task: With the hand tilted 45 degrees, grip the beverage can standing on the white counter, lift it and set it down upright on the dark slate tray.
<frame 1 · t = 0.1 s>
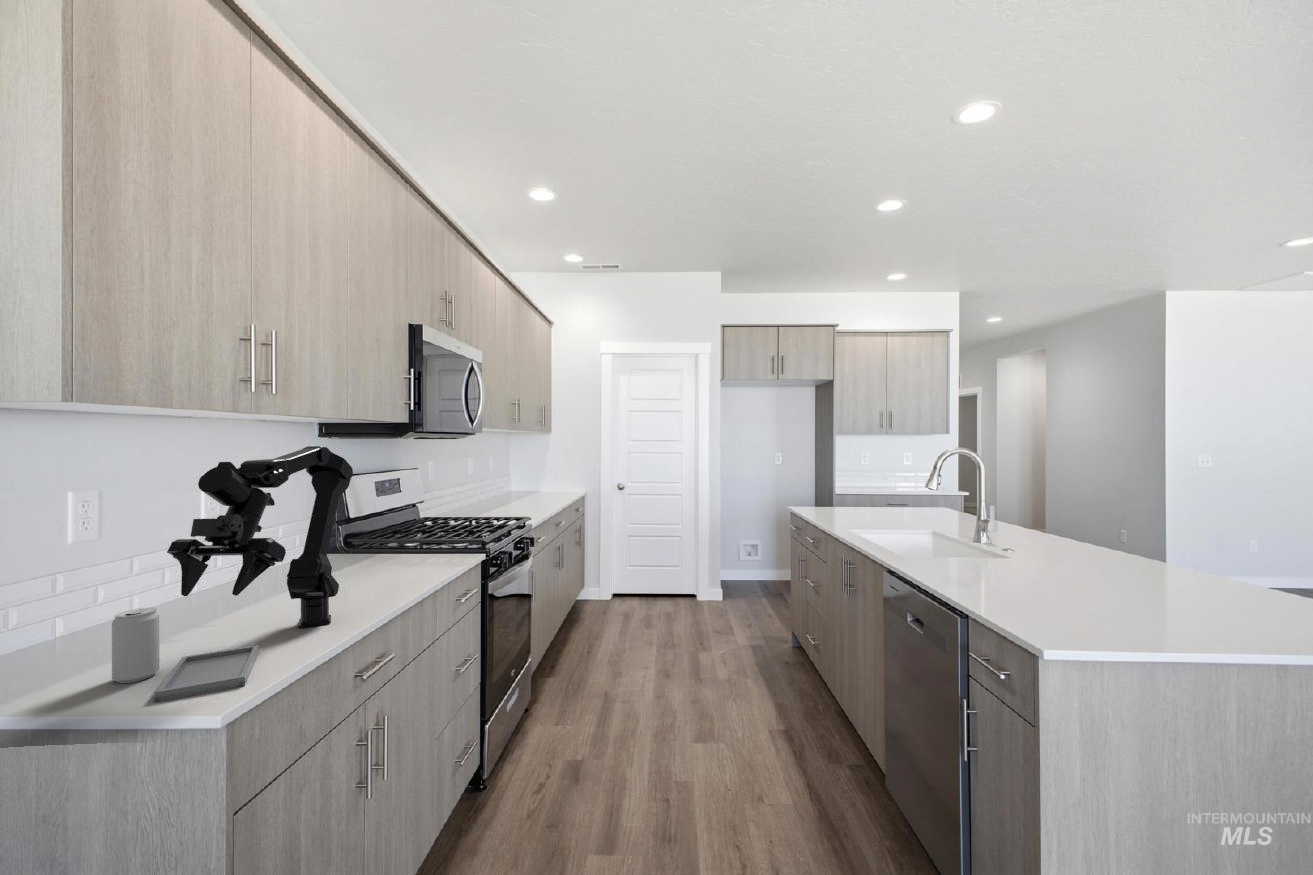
hand: (209, 595, 102), 15 cm above the countertop, tool tilted 35°, fingers open, 9 cm apart
tray: (212, 675, 103), on the countertop
beverage can: (136, 678, 102), on the countertop
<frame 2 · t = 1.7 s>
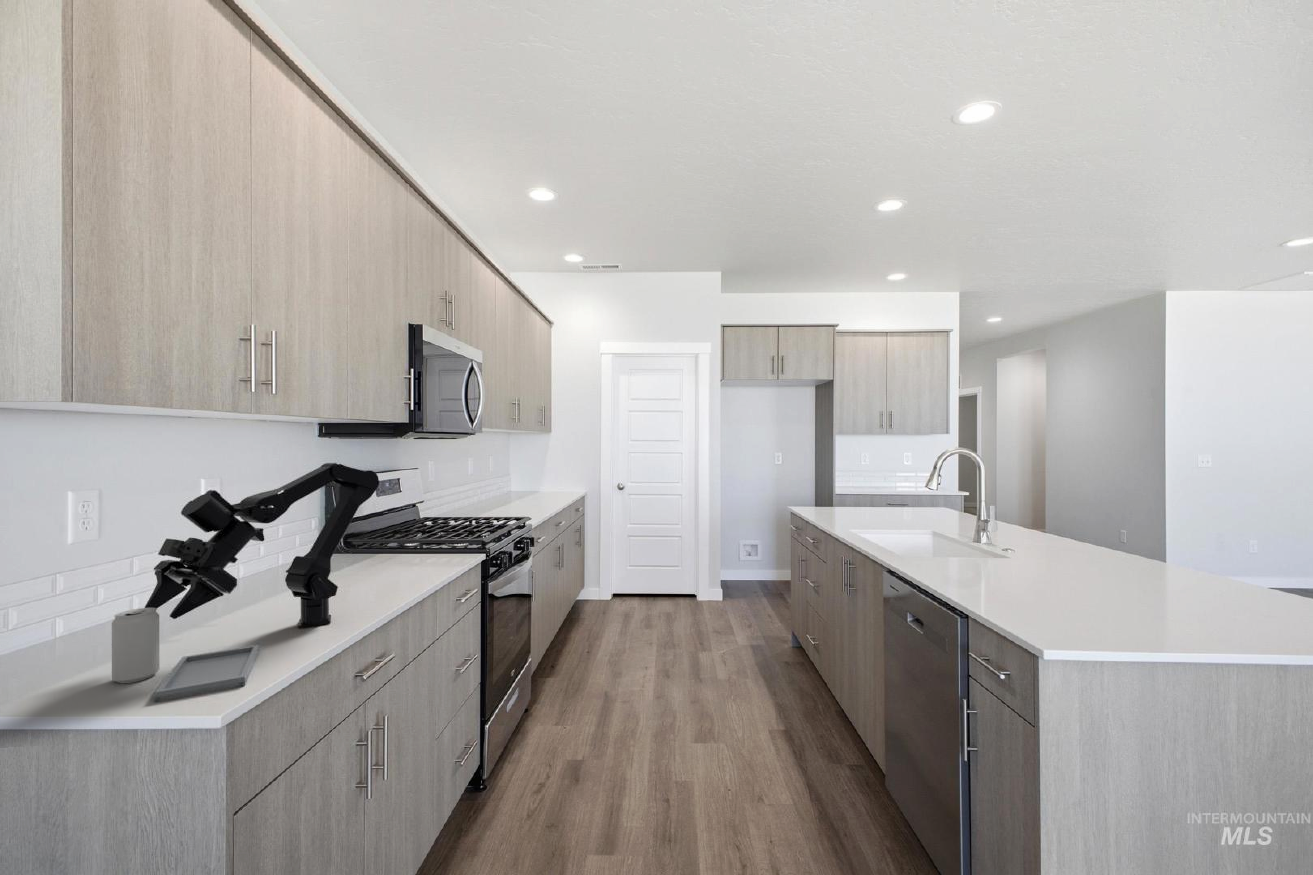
hand: (158, 614, 105), 10 cm above the countertop, tool tilted 45°, fingers open, 9 cm apart
nothing on the countertop moved.
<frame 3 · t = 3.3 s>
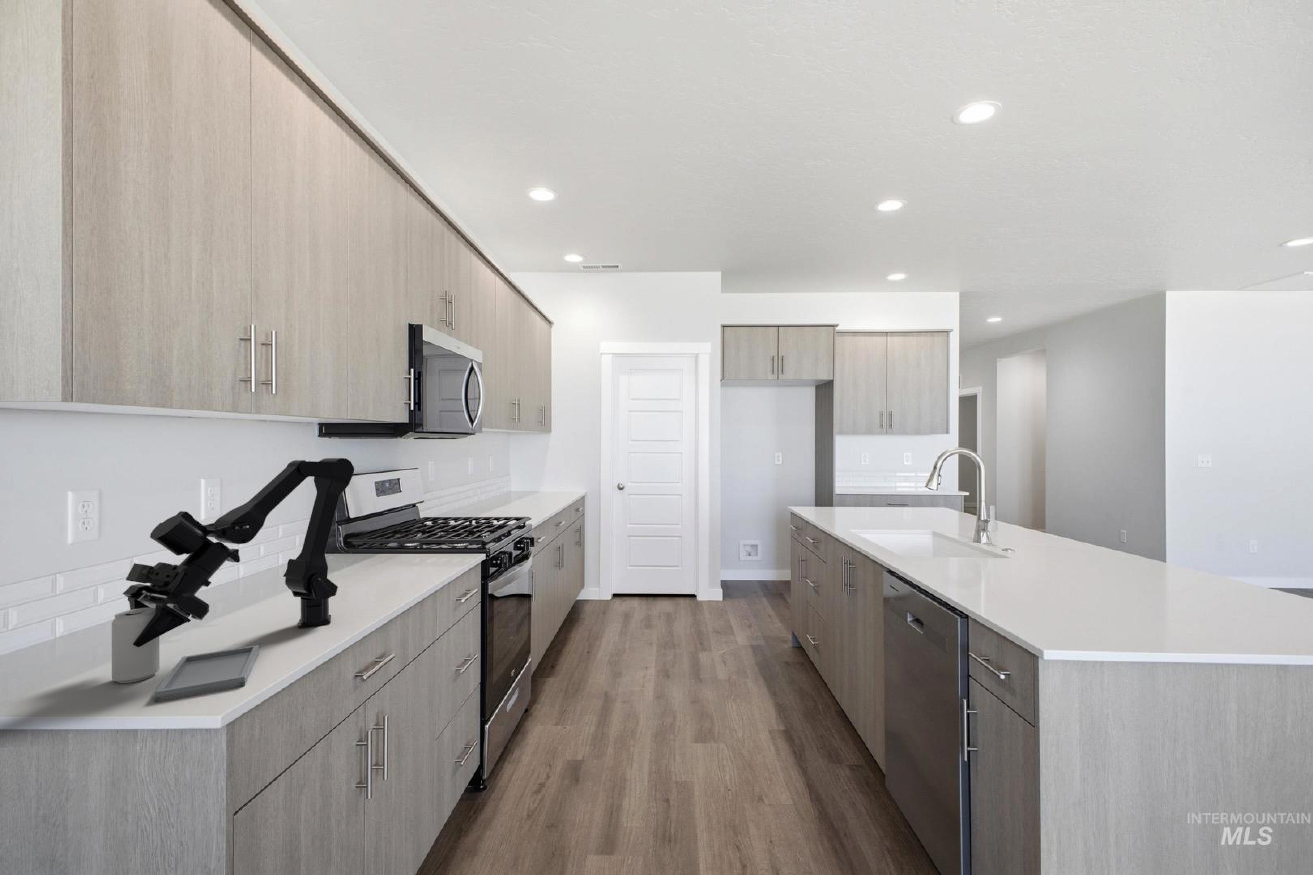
hand: (126, 643, 101), 7 cm above the countertop, tool tilted 45°, fingers closed on beverage can, 6 cm apart
beverage can: (136, 678, 102), on the countertop, touching gripper
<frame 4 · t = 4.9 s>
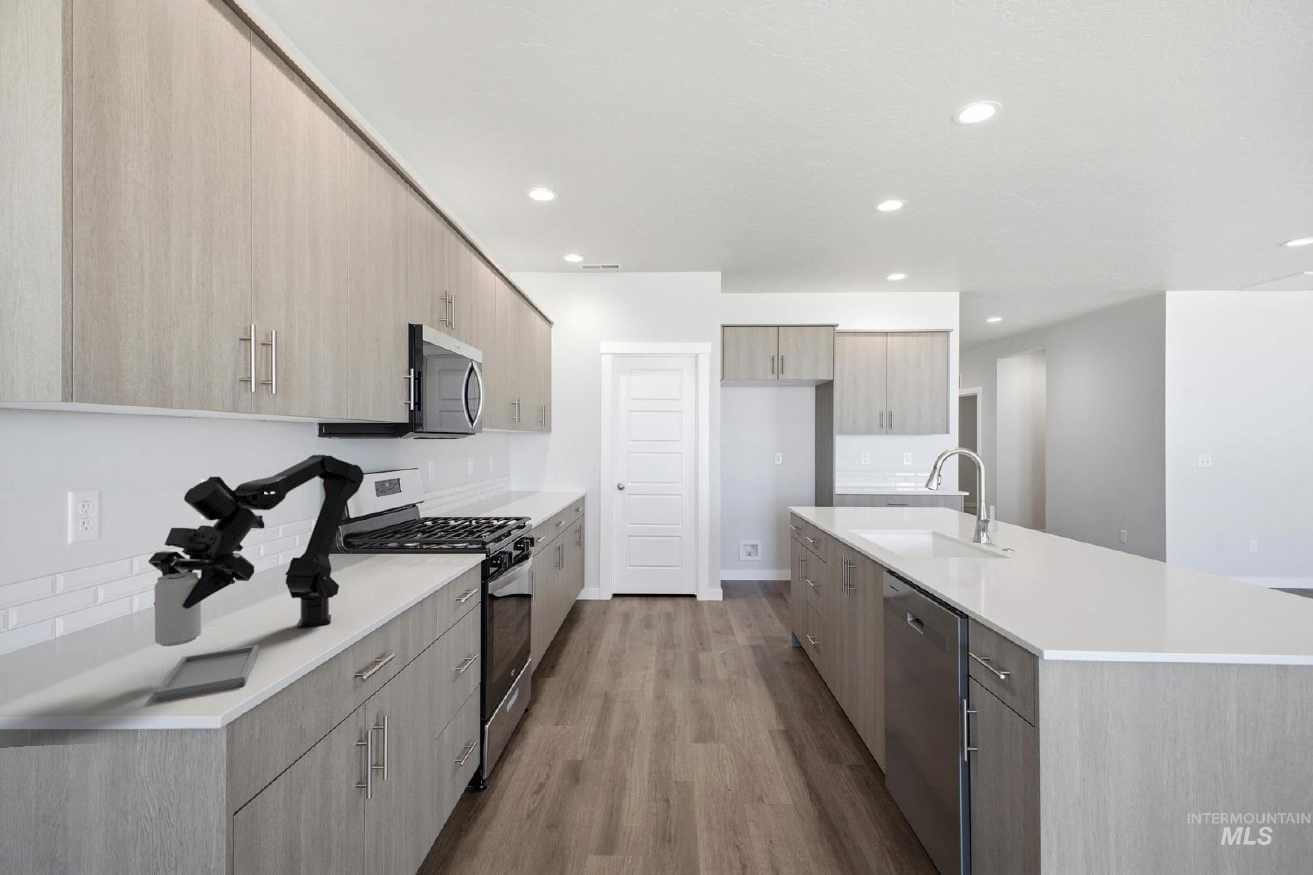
hand: (170, 606, 101), 13 cm above the countertop, tool tilted 45°, fingers closed on beverage can, 6 cm apart
beverage can: (178, 642, 102), point 6 cm above the countertop, touching gripper
when the fingers open (8 cm above the countertop, at t = 6.6 s): beverage can stays where it is, resting on tray.
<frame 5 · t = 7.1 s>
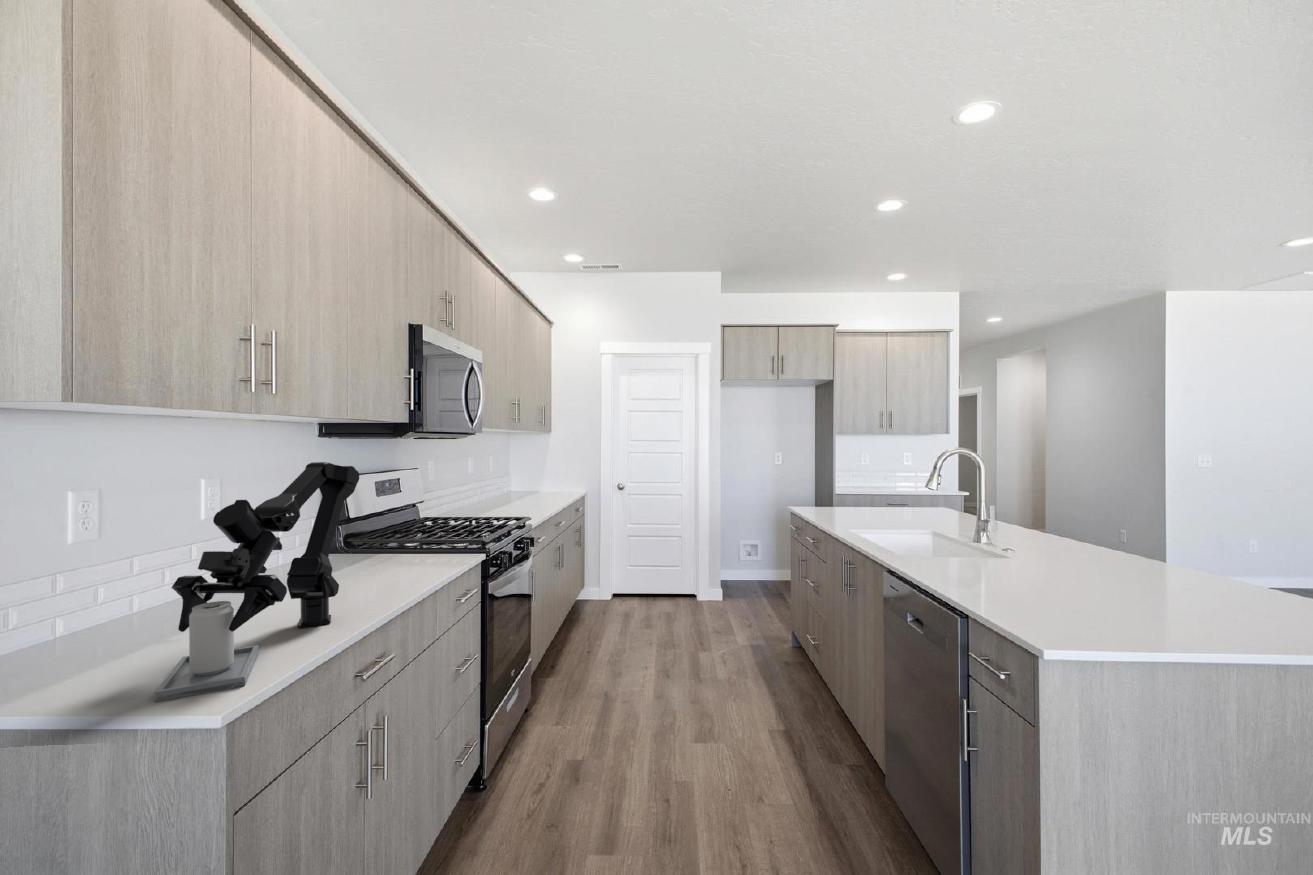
hand: (205, 630, 102), 9 cm above the countertop, tool tilted 45°, fingers open, 9 cm apart
beverage can: (212, 671, 103), point 1 cm above the countertop, touching tray
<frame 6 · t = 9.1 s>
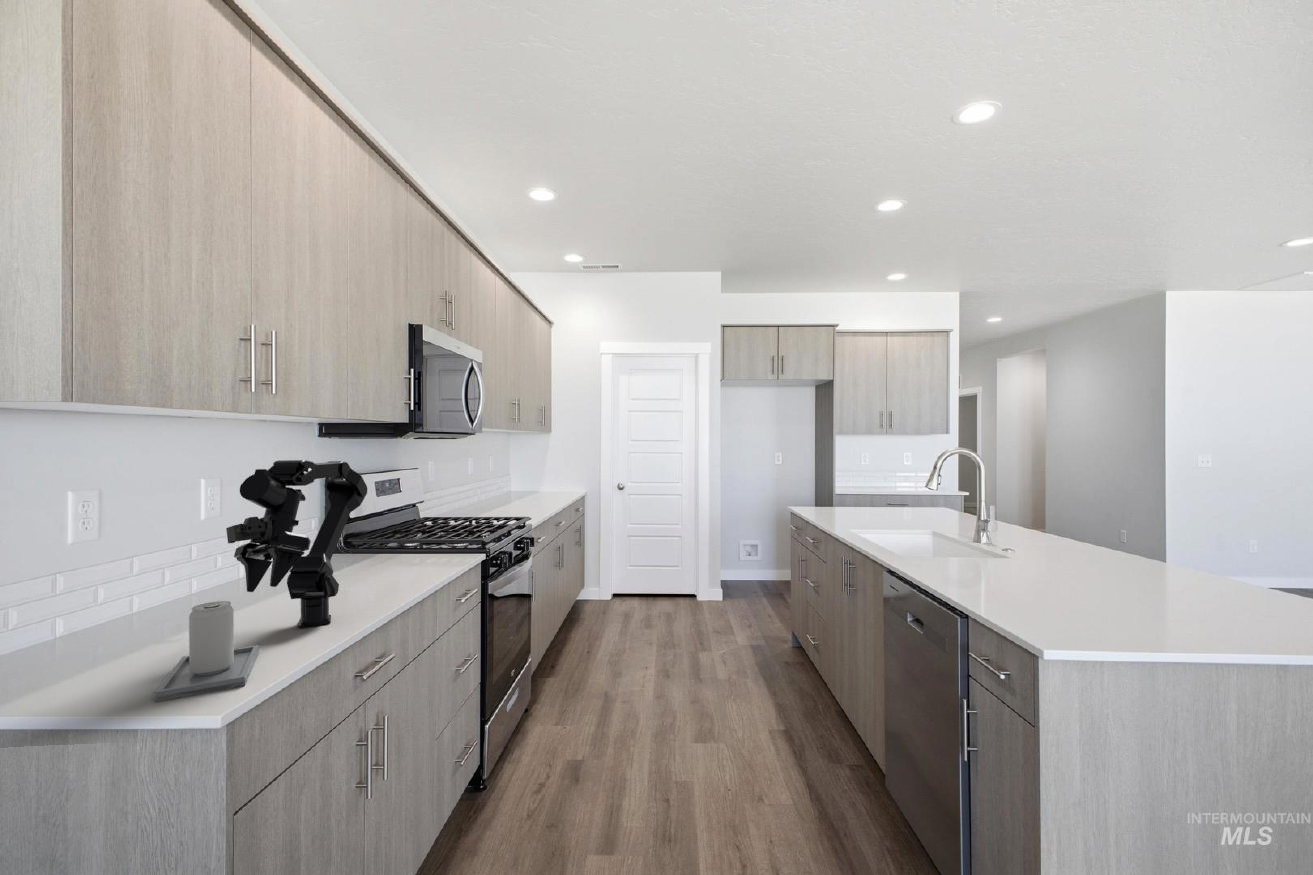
hand: (261, 589, 114), 13 cm above the countertop, tool tilted 25°, fingers open, 9 cm apart
nothing on the countertop moved.
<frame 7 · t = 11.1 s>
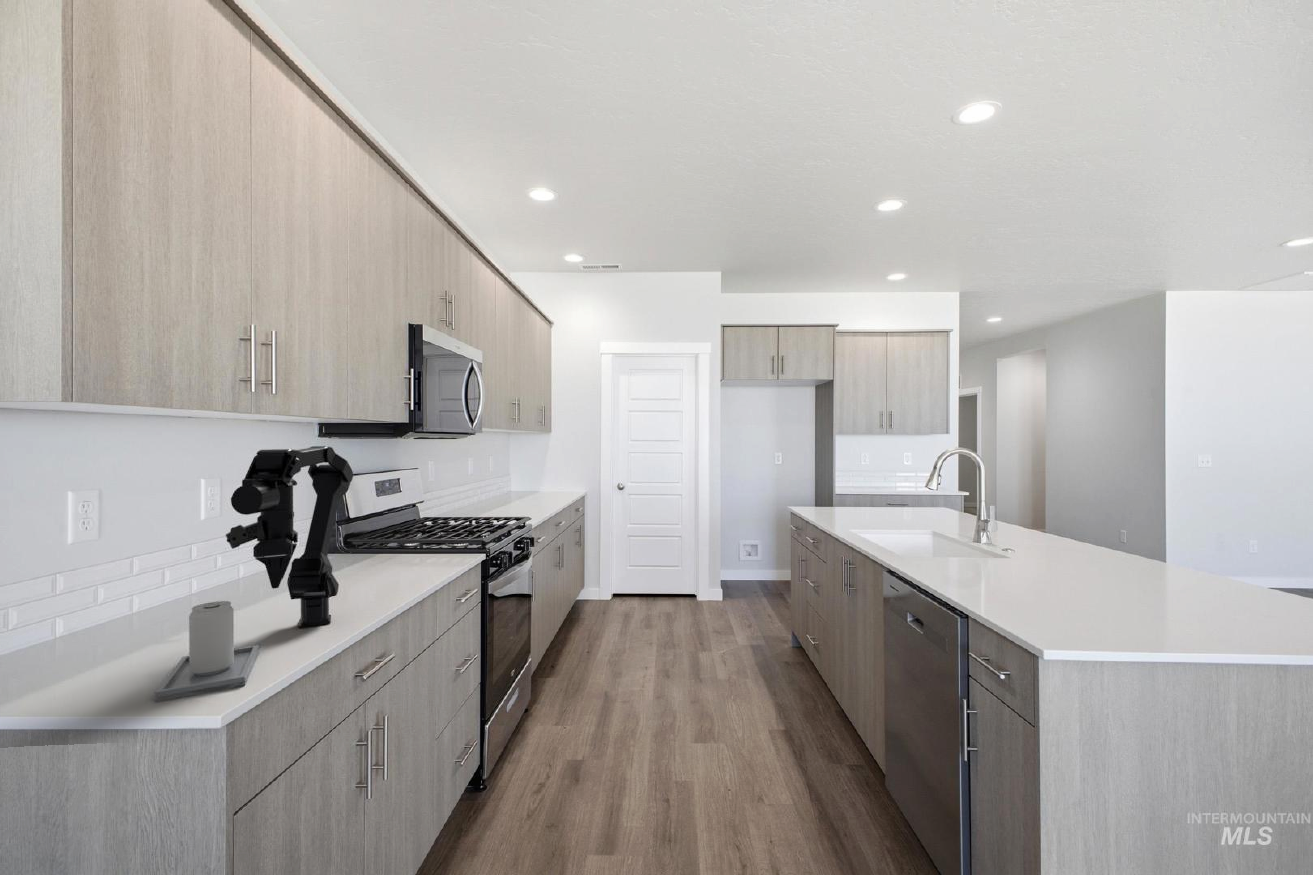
hand: (277, 583, 118), 13 cm above the countertop, tool pointing down, fingers open, 9 cm apart
nothing on the countertop moved.
at the end: beverage can inside the target area on the tray (0.1 cm from its centre), point 0.6 cm above the tray's base; beverage can tilted 0°; the gripper is holding nothing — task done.
